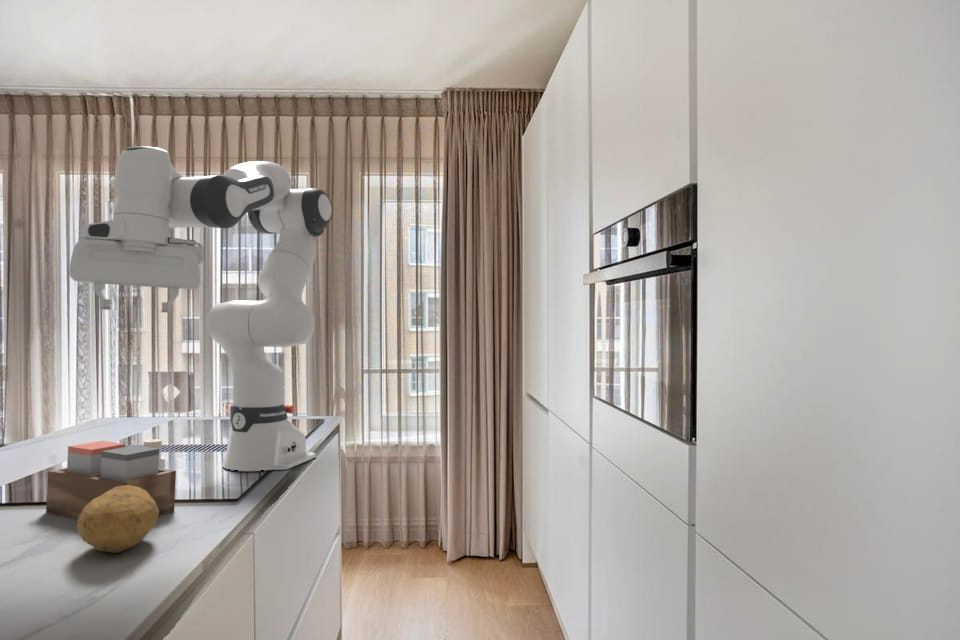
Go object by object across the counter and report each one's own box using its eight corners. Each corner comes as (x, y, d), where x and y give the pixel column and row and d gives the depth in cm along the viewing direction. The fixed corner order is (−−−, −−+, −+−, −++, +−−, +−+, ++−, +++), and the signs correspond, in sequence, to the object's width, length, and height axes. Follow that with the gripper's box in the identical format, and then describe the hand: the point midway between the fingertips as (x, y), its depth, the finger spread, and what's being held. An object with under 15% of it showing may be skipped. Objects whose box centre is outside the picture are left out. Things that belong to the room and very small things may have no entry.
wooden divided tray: (104, 497, 106) (105, 459, 107) (174, 511, 100) (175, 470, 100) (46, 512, 97) (48, 470, 97) (119, 528, 90) (121, 483, 91)
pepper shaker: (136, 488, 113) (139, 440, 113) (159, 485, 116) (161, 438, 116) (141, 492, 110) (143, 443, 110) (164, 489, 113) (166, 441, 113)
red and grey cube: (100, 473, 104) (102, 440, 104) (123, 477, 102) (125, 443, 102) (66, 481, 98) (68, 446, 99) (89, 485, 96) (91, 449, 96)
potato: (61, 572, 74) (64, 509, 74) (90, 535, 87) (92, 482, 87) (147, 563, 77) (150, 503, 78) (163, 529, 90) (165, 478, 91)
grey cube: (133, 479, 101) (135, 445, 101) (157, 483, 99) (159, 448, 99) (99, 487, 95) (101, 451, 95) (124, 492, 93) (126, 454, 93)
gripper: (204, 243, 111) (201, 314, 110) (77, 231, 102) (72, 308, 101) (204, 238, 105) (200, 313, 104) (69, 225, 96) (64, 306, 96)
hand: (136, 311), depth 103 cm, fingers open, 8 cm apart
